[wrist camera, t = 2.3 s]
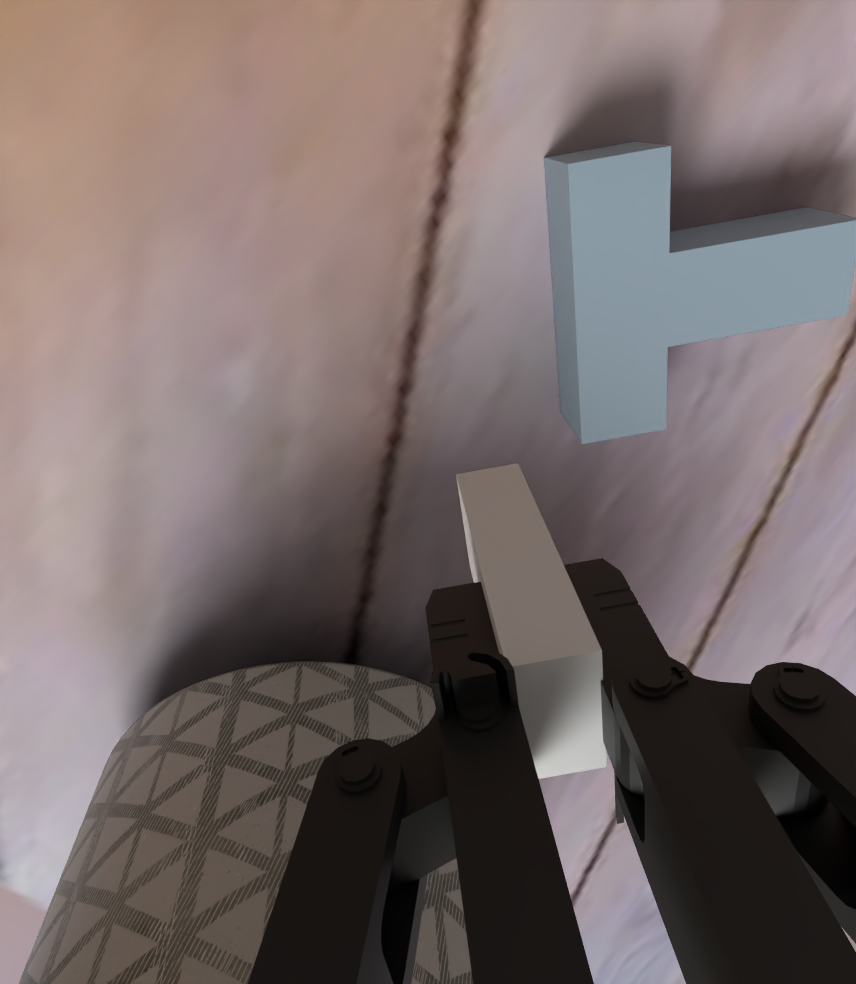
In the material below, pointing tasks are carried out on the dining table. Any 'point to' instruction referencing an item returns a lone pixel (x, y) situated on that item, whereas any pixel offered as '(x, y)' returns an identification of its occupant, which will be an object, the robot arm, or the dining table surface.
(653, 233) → the t block
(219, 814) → the planter
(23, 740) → the dining table surface
